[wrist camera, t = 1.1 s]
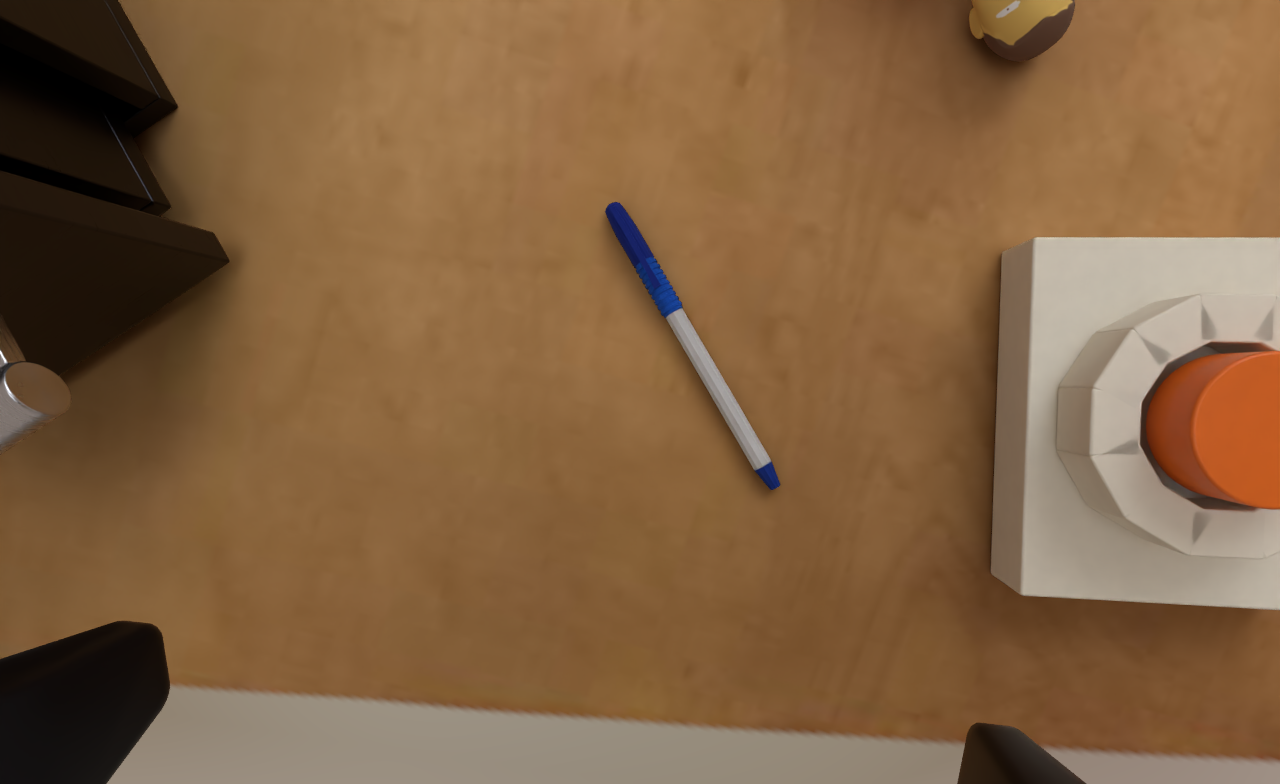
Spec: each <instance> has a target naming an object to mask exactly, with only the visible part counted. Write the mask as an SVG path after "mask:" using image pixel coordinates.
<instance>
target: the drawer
mask: <svg viewBox="0 0 1280 784" xmlns="http://www.w3.org/2000/svg"><path fill="white" fill-rule="evenodd" d="M170 208H171V205H170V204H169V202H168V200H167V198H166V196H165V195H164V193H163V191H162V189H161V188H160V186H159V184H158V182H157V180H156V179H155V177H154V175H153V173H152V171H151V170H150V168H149V166H148V164H147V163H146V161H145V159H144V157H143V155H142V154H141V152H140V150H139V148H138V147H137V145H136V143H135V141H134V139H133V138H132V136H131V134H130V132H129V131H128V129H127V127H126V125H125V123H124V122H123V120H122V118H121V116H120V115H119V113H118V111H117V109H116V107H115V106H114V104H113V102H112V100H111V98H110V97H109V95H108V94H107V93H105V92H103V91H101V90H99V89H97V88H95V87H92V86H90V85H88V84H86V83H84V82H82V81H80V80H78V79H75V78H73V77H71V76H69V75H67V74H65V73H63V72H60V71H58V70H56V69H54V68H52V67H50V66H48V65H46V64H43V63H41V62H39V61H37V60H35V59H33V58H31V57H29V56H26V55H24V54H22V53H20V52H18V51H16V50H14V49H12V48H9V47H7V46H5V45H3V44H1V43H0V455H1V454H2V453H4V452H5V451H7V450H8V449H10V448H12V447H13V446H15V445H16V444H18V443H19V442H21V441H22V440H24V439H25V438H27V437H28V436H30V435H31V434H33V433H34V432H36V431H37V430H39V429H40V428H42V427H43V426H45V425H47V424H48V423H50V422H51V421H53V420H54V419H56V418H57V417H59V416H60V415H62V414H63V413H65V412H66V411H67V410H68V409H69V407H70V405H71V401H72V397H71V393H70V390H69V388H68V386H67V385H66V383H65V382H64V381H63V380H62V378H61V377H60V376H59V375H61V374H63V373H64V372H66V371H67V370H69V369H70V368H72V367H73V366H75V365H76V364H78V363H79V362H81V361H82V360H84V359H85V358H87V357H88V356H90V355H91V354H93V353H94V352H96V351H97V350H99V349H100V348H102V347H103V346H105V345H106V344H108V343H109V342H111V341H112V340H114V339H115V338H117V337H118V336H120V335H121V334H123V333H124V332H126V331H127V330H129V329H130V328H132V327H133V326H135V325H136V324H138V323H139V322H141V321H142V320H144V319H145V318H147V317H148V316H150V315H151V314H153V313H154V312H156V311H157V310H159V309H160V308H162V307H163V306H165V305H166V304H168V303H169V302H171V301H172V300H174V299H175V298H177V297H178V296H180V295H181V294H183V293H184V292H186V291H187V290H189V289H190V288H192V287H193V286H195V285H196V284H198V283H199V282H201V281H202V280H204V279H205V278H207V277H208V276H210V275H211V274H213V273H214V272H216V271H217V270H219V269H220V268H222V267H223V266H225V265H226V264H228V263H229V262H230V261H229V259H228V257H227V255H226V253H225V251H224V250H223V248H222V246H221V244H220V243H219V241H218V239H217V237H216V236H215V234H214V233H213V232H210V231H206V230H203V229H199V228H196V227H192V226H189V225H186V224H182V223H179V222H175V221H172V220H169V219H165V218H162V217H158V216H160V215H161V214H163V213H164V212H166V211H167V210H169V209H170Z"/></svg>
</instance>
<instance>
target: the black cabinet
mask: <svg viewBox="0 0 1280 784" xmlns="http://www.w3.org/2000/svg"><path fill="white" fill-rule="evenodd" d="M0 43H1V44H3V45H5V46H7V47H9V48H12V49H14V50H16V51H18V52H20V53H22V54H24V55H26V56H29V57H31V58H33V59H35V60H37V61H39V62H41V63H43V64H46V65H48V66H50V67H52V68H54V69H56V70H58V71H60V72H63V73H65V74H67V75H69V76H71V77H73V78H75V79H78V80H80V81H82V82H84V83H86V84H88V85H90V86H92V87H95V88H97V89H99V90H101V91H103V92H105V93H107V94H108V95H109V97H110V98H111V100H112V102H113V104H114V106H115V107H116V109H117V111H118V113H119V115H120V116H121V118H122V120H123V122H124V123H125V125H126V127H127V129H128V131H129V132H130V134H131V136H132V138H134V137H135V136H137V135H138V134H140V133H141V132H142V131H144V130H145V129H147V128H148V127H150V126H151V125H152V124H154V123H155V122H157V121H158V120H159V119H161V118H162V117H164V116H165V115H167V114H168V113H169V112H171V111H172V110H174V109H175V108H177V104H176V103H175V101H174V99H173V97H172V96H171V94H170V92H169V90H168V89H167V87H166V85H165V83H164V81H163V80H162V78H161V76H160V74H159V73H158V71H157V69H156V67H155V66H154V64H153V62H152V60H151V58H150V57H149V55H148V53H147V51H146V50H145V48H144V46H143V44H142V43H141V41H140V39H139V37H138V36H137V34H136V32H135V30H134V28H133V27H132V25H131V23H130V21H129V20H128V18H127V16H126V14H125V13H124V11H123V9H122V7H121V5H120V4H119V2H118V0H0Z"/></svg>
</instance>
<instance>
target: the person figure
mask: <svg viewBox="0 0 1280 784" xmlns="http://www.w3.org/2000/svg"><path fill="white" fill-rule="evenodd" d="M972 4H973V8H972V9H971V11H970V15H969V23H970V29H971V32H972V34H973V35H974V37H976V38H978V39H981V38H983V39H984V40H985V42H986V44H987V45H988V46H989V48H990V49H991V50H992V51H993V52H994V53H996V54H997V55H999V56H1000V57H1002V58H1005V59H1008V60H1012V61H1025V60H1029V59H1031V58H1034V57H1036V56H1038V55H1040V54H1041V53H1043V52H1044V51H1046V50H1047V49H1049V48H1050V47H1051V46H1053V45H1054V44H1055V43H1056V42H1057V41H1058V40H1059V39H1060V38H1061V37H1062V36H1063V35H1064V33H1065V32H1066V30H1067V28H1068V27H1069V25H1070V23H1071V20H1072V17H1073V12H1074V7H1075V1H1074V0H972Z"/></svg>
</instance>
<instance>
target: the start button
mask: <svg viewBox="0 0 1280 784" xmlns="http://www.w3.org/2000/svg"><path fill="white" fill-rule="evenodd" d="M1146 434H1147V440H1148V444H1149V447H1150V450H1151V452H1152V454H1153V456H1154V458H1155V460H1156V461H1157V463H1158V464H1159V466H1160V467H1161V469H1162V470H1163V471H1164V472H1165V473H1166V474H1167V475H1168V476H1169V477H1170V478H1171V479H1172V480H1174V481H1175V482H1176V483H1178V484H1179V485H1181V486H1182V487H1184V488H1186V489H1188V490H1190V491H1192V492H1195V493H1198V494H1201V495H1205V496H1209V497H1214V498H1218V499H1222V500H1226V501H1230V502H1235V503H1239V504H1243V505H1247V506H1252V507H1256V508H1261V509H1271V510H1278V509H1280V351H1264V352H1245V353H1225V354H1213V355H1207V356H1204V357H1200V358H1197V359H1194V360H1192V361H1190V362H1187V363H1186V364H1184V365H1182V366H1181V367H1179V368H1178V369H1176V370H1175V371H1174V372H1172V373H1171V374H1170V375H1169V376H1168V377H1167V378H1166V379H1165V380H1164V381H1163V382H1162V383H1161V385H1160V386H1159V387H1158V389H1157V390H1156V392H1155V394H1154V395H1153V397H1152V400H1151V402H1150V405H1149V408H1148V412H1147V418H1146Z"/></svg>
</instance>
